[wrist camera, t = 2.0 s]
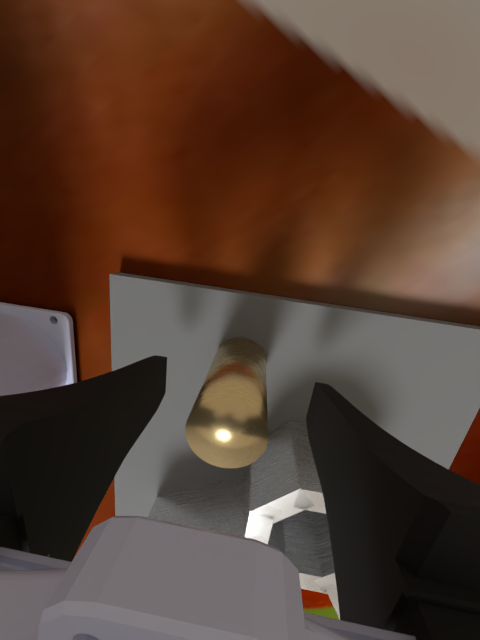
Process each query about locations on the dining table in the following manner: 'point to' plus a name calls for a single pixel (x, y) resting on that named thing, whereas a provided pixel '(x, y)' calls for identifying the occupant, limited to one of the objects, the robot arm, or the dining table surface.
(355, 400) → the mat
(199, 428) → the pin
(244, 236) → the dining table surface
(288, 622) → the robot arm
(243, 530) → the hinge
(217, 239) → the dining table surface
